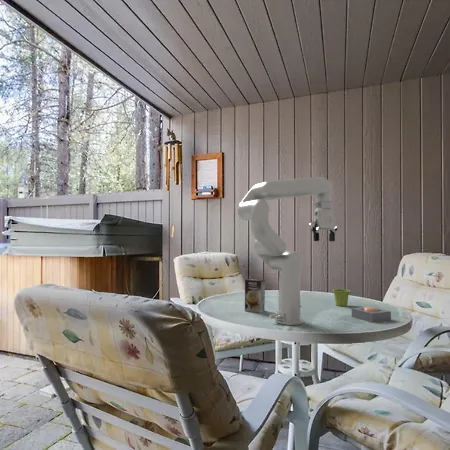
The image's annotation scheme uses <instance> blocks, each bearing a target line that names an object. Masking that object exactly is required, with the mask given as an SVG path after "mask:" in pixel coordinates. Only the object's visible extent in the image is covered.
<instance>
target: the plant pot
mask: <svg viewBox="0 0 450 450" xmlns="http://www.w3.org/2000/svg"><path fill="white" fill-rule="evenodd" d="M350 292H351V290H349V289H342V288H334V289H332V293H333V295H334V302H335V303H334V304H335V306H337V307H348V301H349V295H350Z"/></svg>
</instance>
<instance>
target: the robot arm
mask: <svg viewBox="0 0 450 450" xmlns="http://www.w3.org/2000/svg"><path fill="white" fill-rule="evenodd" d="M302 196H315V204H314V207H315V209H314V214H313V215H314V216H313V221H311V222H309V224H308V225H309V228H310V230H311V232H312V233H313V242H319V241H320V233H319V231H320V230H328V231H329V234H328V236H329V237H328V240H329V242H335V241H336V238H335V237H336V236H335V235H336V233H337V230H338V228H339V226H340V225H339V224H338V222H336V215H335V211H334V209H333V183H332V182H331V180H328V179H327V178H326V177H325V176H324V177H323V176H313V177H311V176H310V177H304V178H303V177H301V178H290V179H289V178H287V179H275V180H274V179H273V180H266V181H262V182H258V183H256V184H254V185H253V186H252V187H251V188H250V189H249V191H248V192H247V193H246V194H245V196H244V197H243V198H242V200H241V201H240V202H239V204H238V206H237V215H238V217H239V218H240V219H241V220H244V221H250V232H251V234H252V236H253V238H254V239H255V240H254V242H253V250H254V252H255V253H256V255H257V256H258V257H259V258H260V259H261V260H262V261H263V262H264V263H265V264H266V266H268V267H269V268H270V269H272V270H273V271H276V272H277V271H278V272H279V271H280V272H281V273H280V275H279V278H278V310H276V312H275V313H270V314H269V315H268V316H269V319H271V320H272V319H273V320H274V322H276V323H277V324H281V325H286V326H298V325H303V324H304V323H305V319H303V318H301V276H302V275H301V274H302V268H303V258H302V257H303V256H302V255H301V254H300V253H298V252H297V251H294V250H287V246H286V243H285V241H284V239H283V238H282V237H281V235H279V234H278V233H277V232H276V231H275V230H274V229H273V227H272V226H271V225H270V222H269V212H270V208H269V204H268V202H267V201H273V200H279V199H280V200H282V199H284V200H285V199H293V198H299V197H302Z"/></svg>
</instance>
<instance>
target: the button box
mask: <svg viewBox="0 0 450 450" xmlns="http://www.w3.org/2000/svg"><path fill="white" fill-rule="evenodd" d="M364 307H365V306H363V307H362V306H361V307H352V308H351V317H352V318H355V319H357V320H358V319H359V320H361V321H366V322H368V323H369V322H370V323H379V322H380V323H381V322H388V320H389V321H392V311H391V310H385V309H381V308H378V311H375V312H370V311H366V310H364Z"/></svg>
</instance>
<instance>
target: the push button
mask: <svg viewBox="0 0 450 450" xmlns="http://www.w3.org/2000/svg"><path fill="white" fill-rule="evenodd" d="M363 307H364V310H366V311H370V312H375V311H378V309H379V308H377V307H374V306H363Z"/></svg>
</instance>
